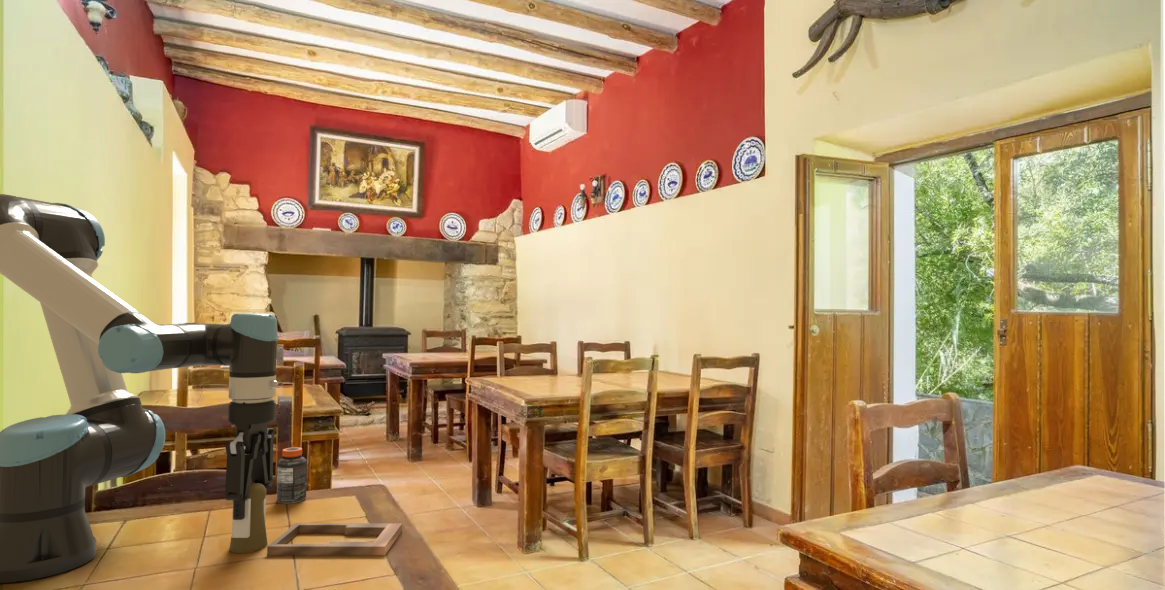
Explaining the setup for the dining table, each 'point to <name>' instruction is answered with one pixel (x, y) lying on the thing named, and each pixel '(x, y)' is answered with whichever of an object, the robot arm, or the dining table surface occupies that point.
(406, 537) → the dining table surface
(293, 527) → the keyhole board
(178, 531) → the dining table surface
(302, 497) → the pill bottle
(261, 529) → the olive rounded upright piece
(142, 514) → the dining table surface
